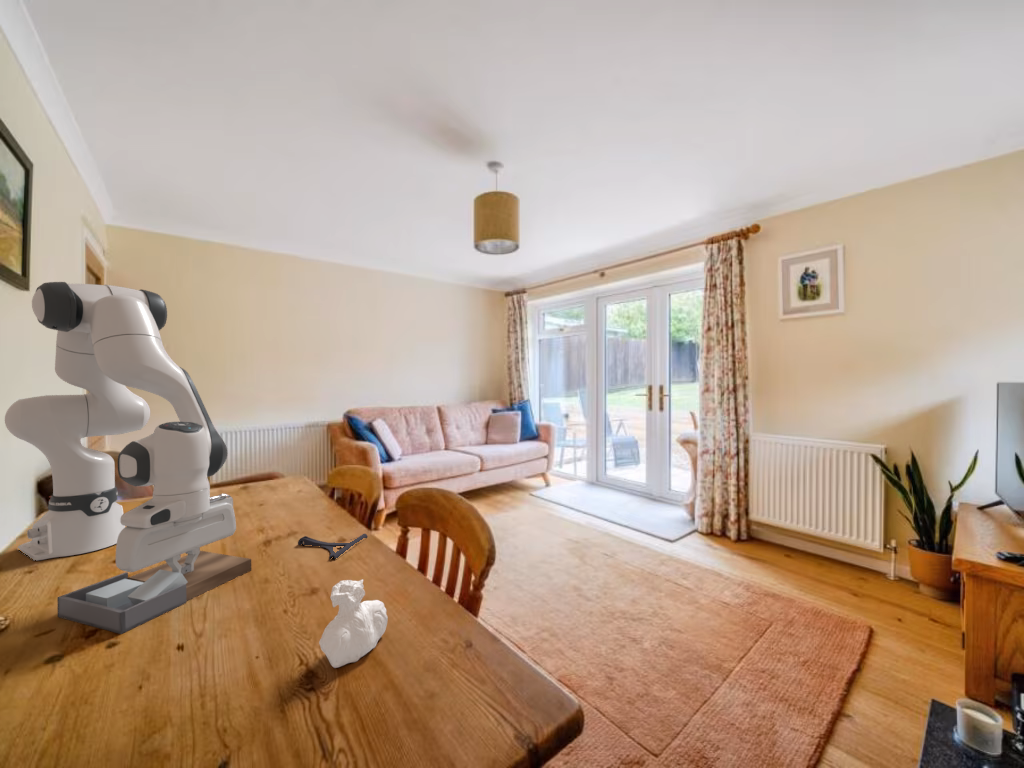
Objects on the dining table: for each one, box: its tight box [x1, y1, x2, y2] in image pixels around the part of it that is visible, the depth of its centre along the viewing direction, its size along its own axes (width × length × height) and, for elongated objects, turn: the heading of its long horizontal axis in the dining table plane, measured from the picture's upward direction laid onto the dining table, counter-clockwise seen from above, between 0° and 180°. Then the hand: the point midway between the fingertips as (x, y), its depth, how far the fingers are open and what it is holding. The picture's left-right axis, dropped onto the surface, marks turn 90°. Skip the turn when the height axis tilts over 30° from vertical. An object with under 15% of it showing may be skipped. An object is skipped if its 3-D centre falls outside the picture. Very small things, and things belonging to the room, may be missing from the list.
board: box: [128, 550, 252, 602], centre depth 87 cm, size 16×14×2 cm
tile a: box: [86, 579, 143, 608], centre depth 78 cm, size 6×6×2 cm
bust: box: [318, 579, 389, 669], centre depth 64 cm, size 12×8×11 cm
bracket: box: [297, 533, 368, 560], centre depth 105 cm, size 14×15×3 cm
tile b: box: [127, 570, 188, 605], centre depth 77 cm, size 6×6×2 cm
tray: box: [56, 571, 187, 635], centre depth 76 cm, size 17×10×4 cm, turn 72°
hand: (183, 574), depth 82 cm, fingers closed
